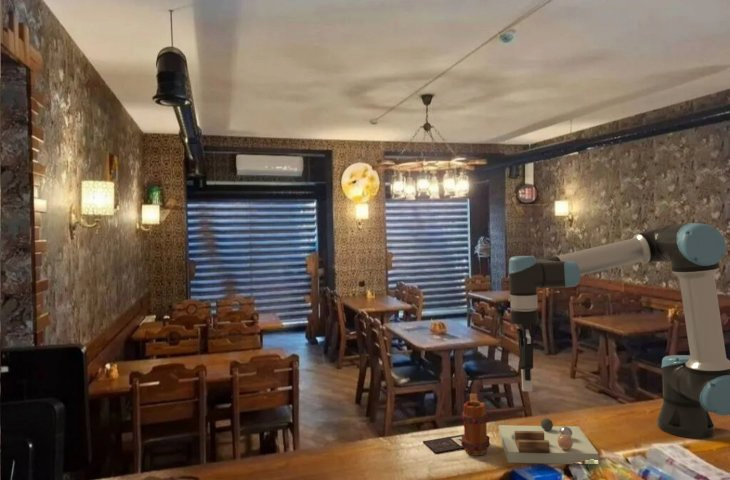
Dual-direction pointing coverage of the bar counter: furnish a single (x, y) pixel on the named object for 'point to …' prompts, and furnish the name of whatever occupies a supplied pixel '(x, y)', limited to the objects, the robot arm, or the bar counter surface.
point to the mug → (475, 427)
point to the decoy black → (546, 424)
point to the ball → (566, 431)
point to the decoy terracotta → (565, 442)
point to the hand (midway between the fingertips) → (527, 390)
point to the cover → (531, 442)
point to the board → (557, 455)
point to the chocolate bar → (445, 444)
